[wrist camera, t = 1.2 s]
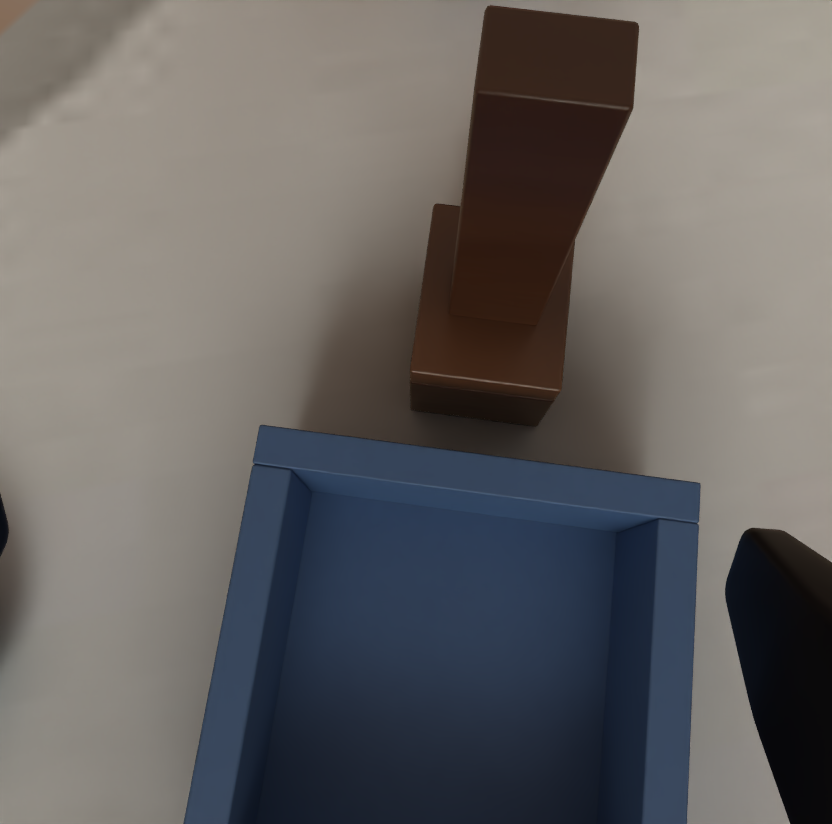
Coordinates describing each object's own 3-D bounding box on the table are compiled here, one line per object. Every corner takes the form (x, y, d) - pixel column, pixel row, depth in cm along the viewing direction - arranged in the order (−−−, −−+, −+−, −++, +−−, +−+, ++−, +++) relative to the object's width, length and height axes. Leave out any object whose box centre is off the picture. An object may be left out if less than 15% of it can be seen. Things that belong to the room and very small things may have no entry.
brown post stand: (537, 427, 23) (683, 218, 11) (410, 410, 23) (405, 184, 11) (551, 280, 24) (697, -63, 12) (430, 264, 25) (448, -91, 12)
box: (619, 956, 20) (678, 1057, 15) (210, 893, 20) (153, 975, 16) (645, 505, 23) (701, 483, 18) (288, 458, 23) (259, 424, 19)
